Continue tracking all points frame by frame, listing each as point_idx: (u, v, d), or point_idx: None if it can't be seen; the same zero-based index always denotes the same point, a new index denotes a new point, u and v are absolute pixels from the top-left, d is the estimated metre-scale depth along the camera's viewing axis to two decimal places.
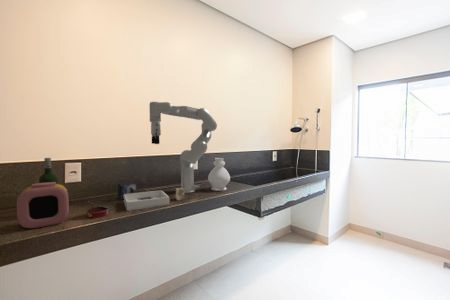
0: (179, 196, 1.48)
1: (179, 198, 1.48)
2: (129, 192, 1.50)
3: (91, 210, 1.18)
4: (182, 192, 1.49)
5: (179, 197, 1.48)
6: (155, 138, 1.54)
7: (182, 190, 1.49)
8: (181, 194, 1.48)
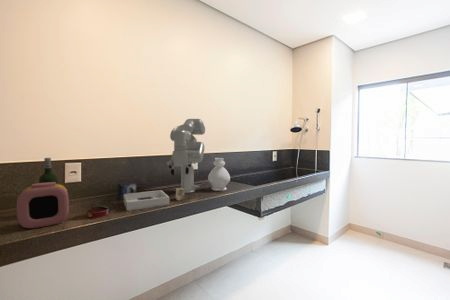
0: (179, 196, 1.48)
1: (179, 198, 1.48)
2: (129, 192, 1.50)
3: (91, 210, 1.18)
4: (182, 192, 1.49)
5: (179, 197, 1.48)
6: (187, 168, 1.51)
7: (182, 190, 1.49)
8: (181, 194, 1.48)
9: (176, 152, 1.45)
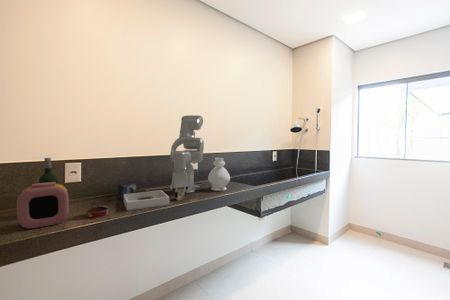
0: (179, 196, 1.48)
1: (179, 198, 1.48)
2: (129, 192, 1.50)
3: (91, 210, 1.18)
4: (182, 192, 1.49)
5: (179, 197, 1.48)
6: (184, 191, 1.51)
7: (182, 190, 1.49)
8: (181, 194, 1.48)
9: (176, 174, 1.46)
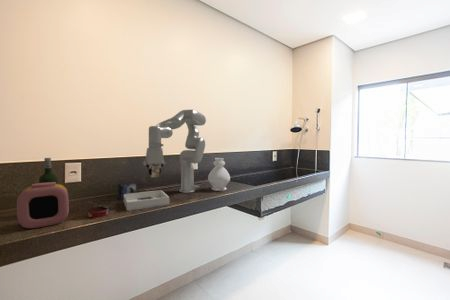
0: (153, 173, 1.39)
1: (153, 175, 1.39)
2: (129, 192, 1.50)
3: (91, 210, 1.18)
4: (157, 169, 1.39)
5: (153, 174, 1.39)
6: (159, 168, 1.42)
7: (157, 167, 1.39)
8: (155, 171, 1.39)
9: (150, 149, 1.37)
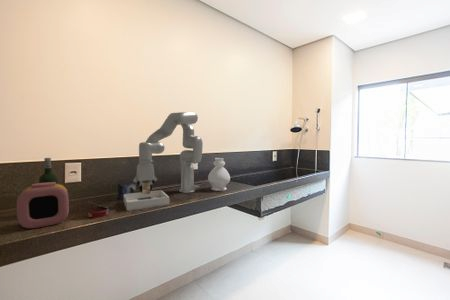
0: (144, 190, 1.37)
1: (144, 192, 1.37)
2: (129, 192, 1.50)
3: (91, 210, 1.18)
4: (147, 186, 1.37)
5: (144, 191, 1.37)
6: (150, 185, 1.40)
7: (147, 183, 1.37)
8: (146, 188, 1.37)
9: (140, 166, 1.35)
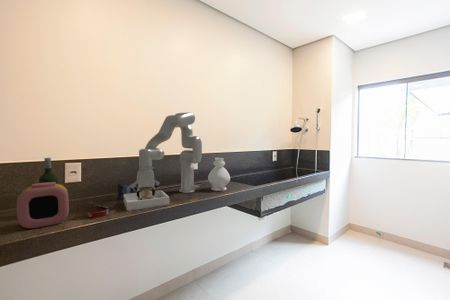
0: (144, 199, 1.37)
1: None
2: (129, 192, 1.50)
3: (91, 210, 1.18)
4: (148, 194, 1.38)
5: None
6: (154, 189, 1.41)
7: (148, 192, 1.38)
8: (146, 197, 1.38)
9: (141, 173, 1.35)
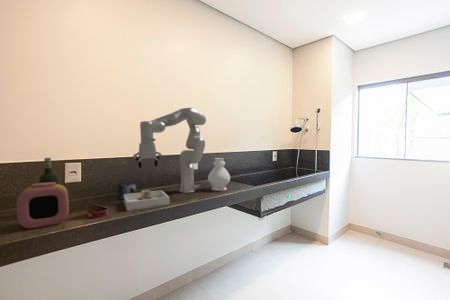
0: (144, 199, 1.37)
1: None
2: (129, 192, 1.50)
3: (91, 210, 1.18)
4: (148, 194, 1.38)
5: None
6: (156, 160, 1.46)
7: (148, 192, 1.38)
8: (146, 197, 1.38)
9: (142, 144, 1.40)
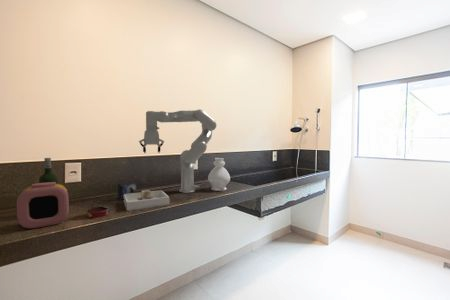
0: (144, 199, 1.37)
1: None
2: (129, 192, 1.50)
3: (91, 210, 1.18)
4: (148, 194, 1.38)
5: None
6: (159, 147, 1.62)
7: (148, 192, 1.38)
8: (146, 197, 1.38)
9: (147, 131, 1.56)
